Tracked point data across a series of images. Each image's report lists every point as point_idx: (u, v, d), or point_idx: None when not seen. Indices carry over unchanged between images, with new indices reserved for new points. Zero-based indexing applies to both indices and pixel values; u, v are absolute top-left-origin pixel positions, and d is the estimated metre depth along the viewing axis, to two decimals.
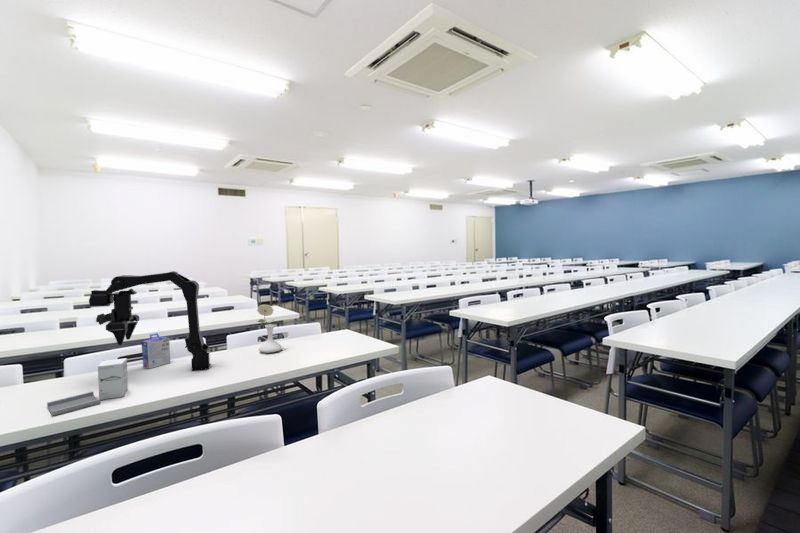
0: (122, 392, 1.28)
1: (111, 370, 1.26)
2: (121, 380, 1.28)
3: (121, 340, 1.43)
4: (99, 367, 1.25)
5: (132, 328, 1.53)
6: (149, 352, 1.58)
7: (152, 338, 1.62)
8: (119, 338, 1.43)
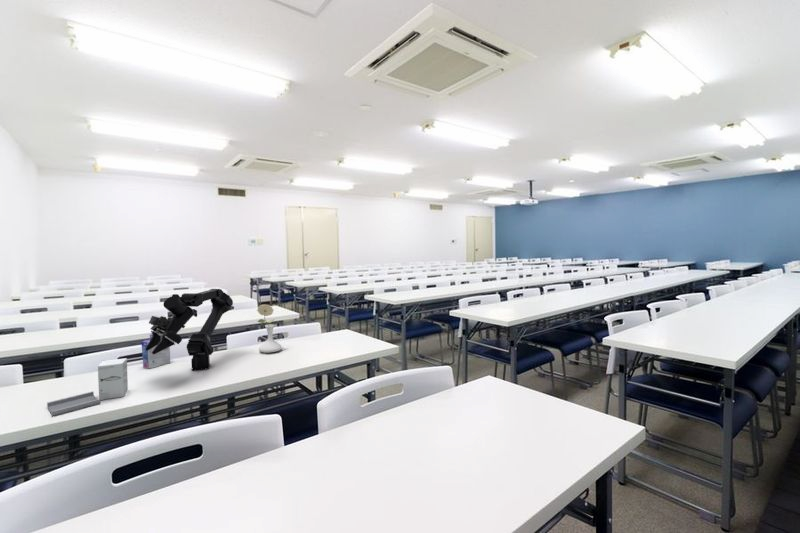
0: (122, 392, 1.28)
1: (111, 370, 1.26)
2: (121, 380, 1.28)
3: (159, 350, 1.37)
4: (99, 367, 1.25)
5: (158, 342, 1.44)
6: (149, 352, 1.58)
7: None
8: (160, 348, 1.37)
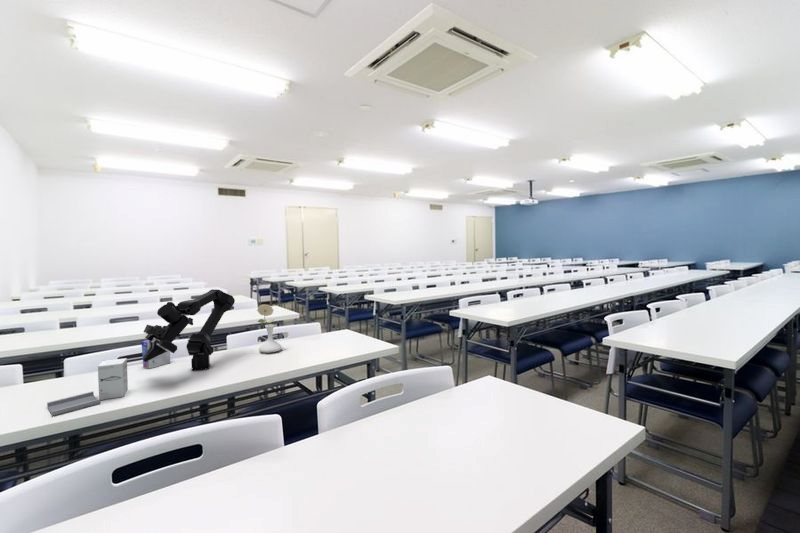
0: (122, 392, 1.28)
1: (111, 370, 1.26)
2: (121, 380, 1.28)
3: (150, 358, 1.38)
4: (99, 367, 1.25)
5: None
6: None
7: None
8: (151, 355, 1.38)
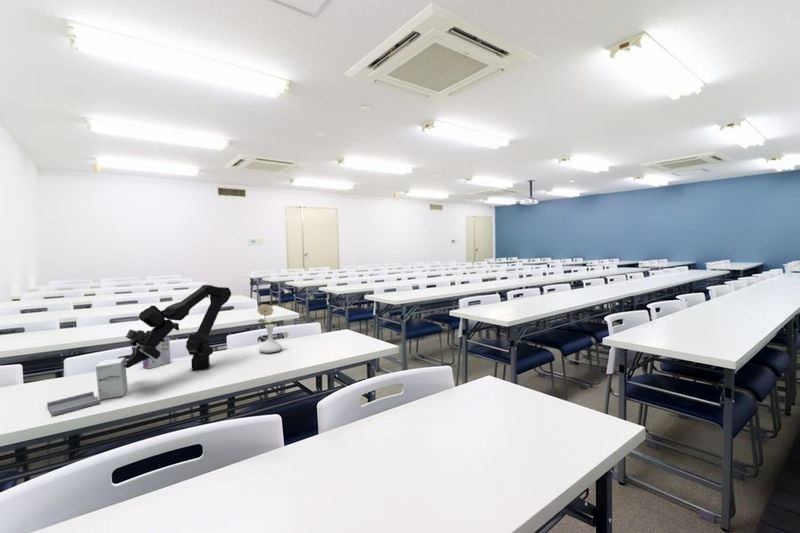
0: (122, 391, 1.28)
1: (109, 370, 1.26)
2: (120, 379, 1.28)
3: (132, 364, 1.33)
4: (97, 367, 1.25)
5: None
6: None
7: None
8: (133, 361, 1.33)
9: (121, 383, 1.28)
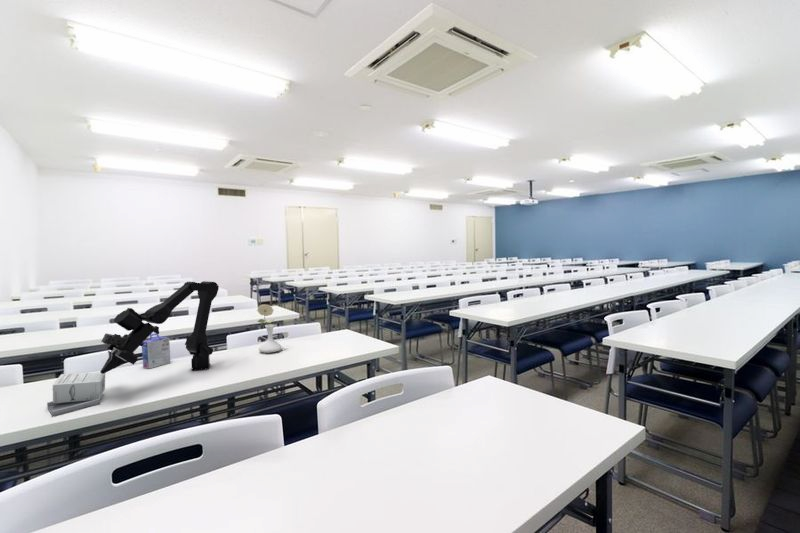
0: (93, 382, 1.23)
1: (60, 393, 1.20)
2: (76, 384, 1.21)
3: (108, 369, 1.28)
4: (54, 402, 1.20)
5: None
6: (149, 352, 1.58)
7: (152, 338, 1.62)
8: (109, 366, 1.28)
9: (82, 383, 1.22)
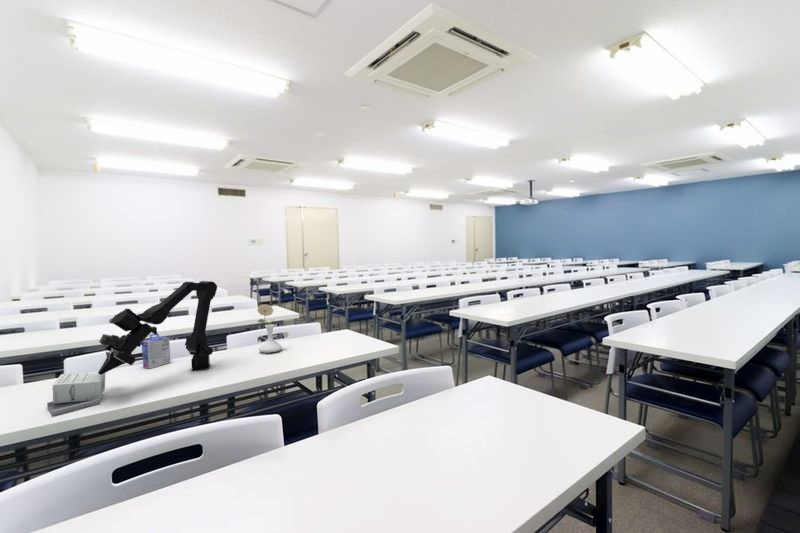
0: (93, 382, 1.23)
1: (60, 393, 1.20)
2: (76, 384, 1.21)
3: (106, 370, 1.27)
4: (54, 402, 1.20)
5: None
6: (149, 352, 1.58)
7: (152, 338, 1.62)
8: (107, 367, 1.27)
9: (82, 383, 1.22)
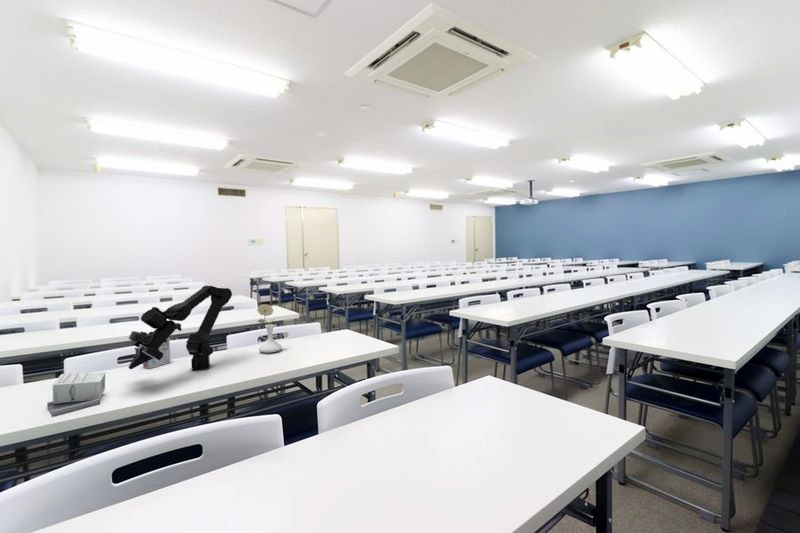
0: (93, 382, 1.23)
1: (60, 393, 1.20)
2: (76, 384, 1.21)
3: (136, 365, 1.35)
4: (54, 402, 1.20)
5: None
6: None
7: None
8: (137, 362, 1.35)
9: (82, 383, 1.22)
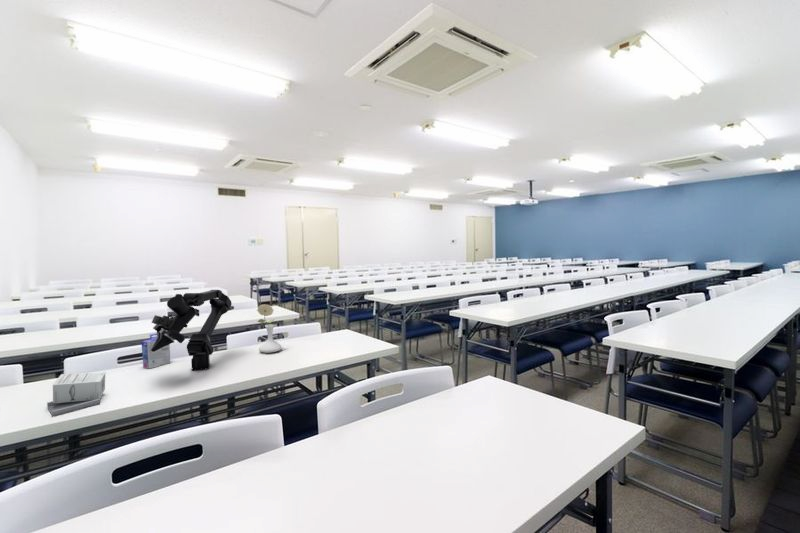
0: (93, 382, 1.23)
1: (60, 393, 1.20)
2: (76, 384, 1.21)
3: (158, 348, 1.40)
4: (54, 402, 1.20)
5: None
6: (149, 352, 1.58)
7: (152, 338, 1.62)
8: (159, 345, 1.40)
9: (82, 383, 1.22)
